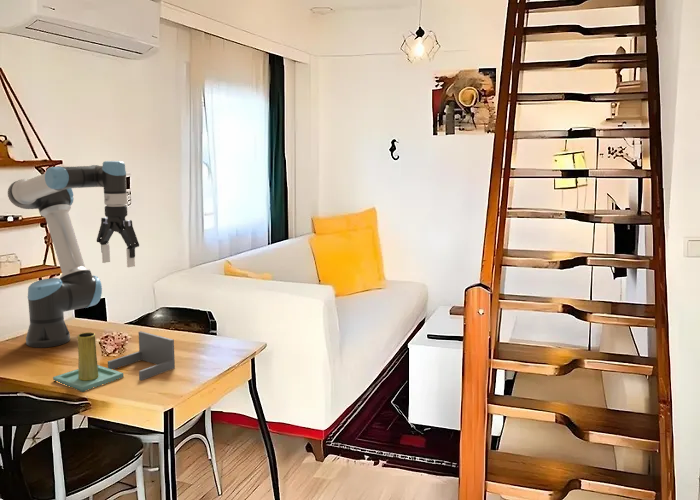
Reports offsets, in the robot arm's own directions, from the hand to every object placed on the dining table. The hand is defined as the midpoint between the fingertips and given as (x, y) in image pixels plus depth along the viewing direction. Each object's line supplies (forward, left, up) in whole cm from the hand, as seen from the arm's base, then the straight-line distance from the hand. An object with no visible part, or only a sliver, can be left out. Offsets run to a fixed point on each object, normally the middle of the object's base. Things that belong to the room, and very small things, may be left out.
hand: (118, 264), depth 234 cm
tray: (+16, -26, -32) cm, 44 cm away
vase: (+16, -26, -31) cm, 43 cm away
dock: (+22, -10, -32) cm, 40 cm away
